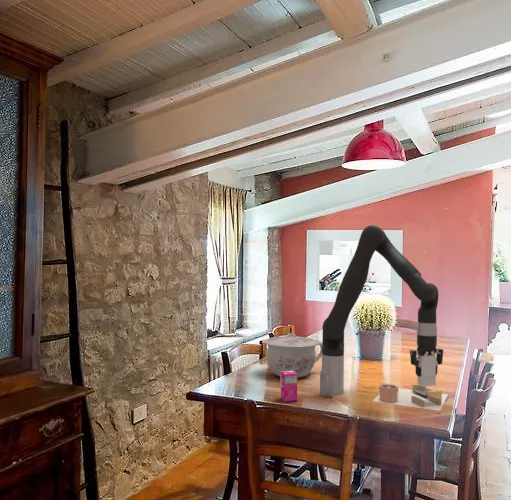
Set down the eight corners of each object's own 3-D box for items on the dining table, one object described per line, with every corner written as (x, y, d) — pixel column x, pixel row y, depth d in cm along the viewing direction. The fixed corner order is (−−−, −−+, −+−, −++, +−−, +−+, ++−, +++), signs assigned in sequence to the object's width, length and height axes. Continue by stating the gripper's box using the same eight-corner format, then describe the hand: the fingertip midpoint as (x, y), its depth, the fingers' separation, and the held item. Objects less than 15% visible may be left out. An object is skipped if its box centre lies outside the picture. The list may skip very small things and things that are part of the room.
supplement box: (279, 398, 218) (280, 371, 218) (293, 397, 220) (293, 370, 220) (283, 402, 213) (284, 374, 213) (297, 401, 214) (298, 373, 214)
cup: (385, 403, 209) (385, 389, 209) (376, 398, 216) (377, 384, 216) (400, 401, 211) (401, 388, 211) (391, 397, 218) (391, 383, 218)
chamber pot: (254, 378, 251) (254, 335, 251) (273, 367, 277) (274, 327, 277) (311, 385, 241) (311, 339, 241) (325, 372, 267) (326, 331, 267)
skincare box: (431, 383, 212) (431, 353, 212) (436, 386, 208) (436, 355, 208) (416, 383, 211) (416, 353, 211) (421, 386, 207) (421, 355, 207)
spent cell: (387, 400, 212) (387, 386, 212) (383, 398, 215) (384, 384, 215) (393, 399, 213) (393, 386, 213) (390, 398, 215) (390, 384, 215)
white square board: (372, 404, 212) (372, 392, 212) (386, 389, 235) (386, 378, 235) (440, 413, 200) (440, 401, 200) (448, 397, 224) (448, 386, 224)
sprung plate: (425, 396, 216) (425, 394, 216) (414, 390, 224) (414, 389, 224) (438, 395, 218) (438, 393, 218) (426, 390, 226) (426, 388, 226)
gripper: (416, 335, 204) (416, 379, 204) (448, 334, 208) (447, 376, 208) (405, 332, 211) (405, 374, 211) (436, 331, 215) (436, 372, 215)
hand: (426, 375), depth 210 cm, fingers closed on skincare box, 6 cm apart
